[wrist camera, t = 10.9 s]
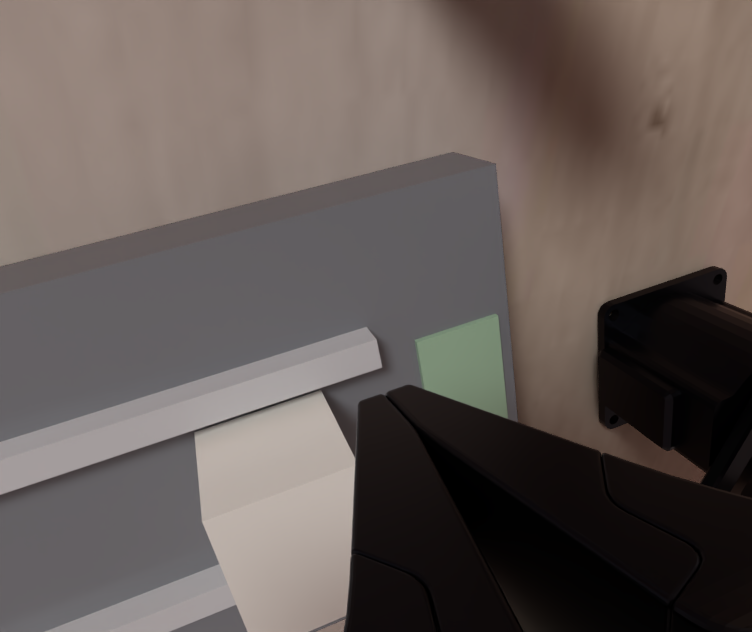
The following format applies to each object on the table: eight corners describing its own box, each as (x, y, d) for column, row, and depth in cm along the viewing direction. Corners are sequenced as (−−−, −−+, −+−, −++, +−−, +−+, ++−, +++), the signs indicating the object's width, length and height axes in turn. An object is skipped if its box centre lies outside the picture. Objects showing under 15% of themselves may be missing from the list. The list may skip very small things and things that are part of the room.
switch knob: (320, 390, 18) (358, 464, 15) (351, 507, 21) (390, 597, 17) (194, 432, 18) (202, 521, 14) (239, 550, 20) (256, 653, 16)
